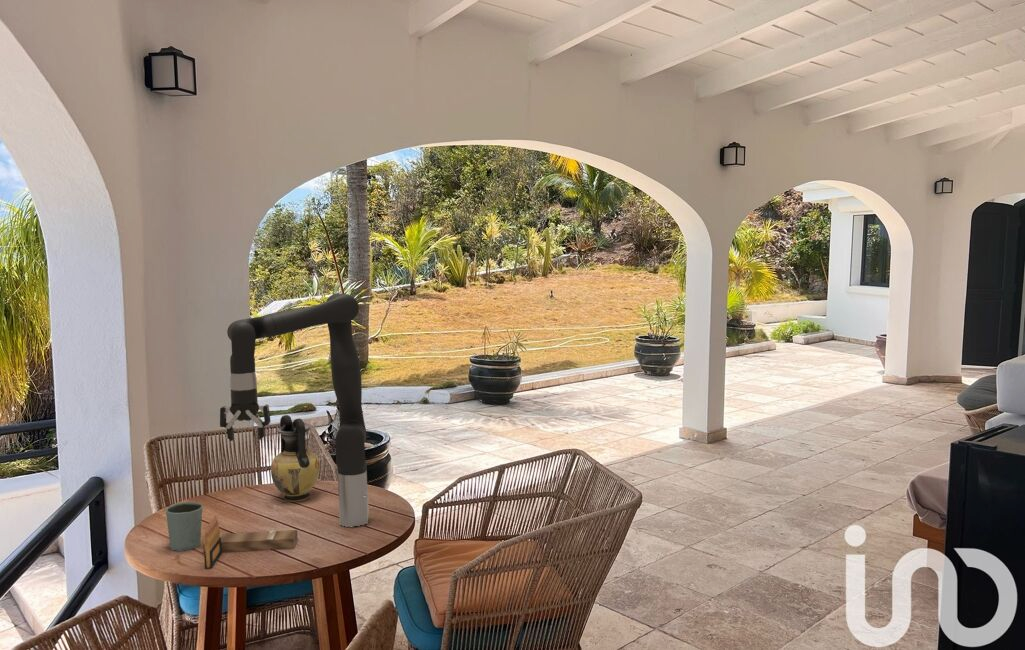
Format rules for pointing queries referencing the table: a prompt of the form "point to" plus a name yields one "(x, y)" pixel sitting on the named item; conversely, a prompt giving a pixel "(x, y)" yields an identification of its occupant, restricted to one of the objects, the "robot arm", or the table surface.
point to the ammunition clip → (212, 543)
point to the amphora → (294, 462)
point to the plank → (258, 541)
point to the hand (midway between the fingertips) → (246, 439)
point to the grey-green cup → (184, 525)
